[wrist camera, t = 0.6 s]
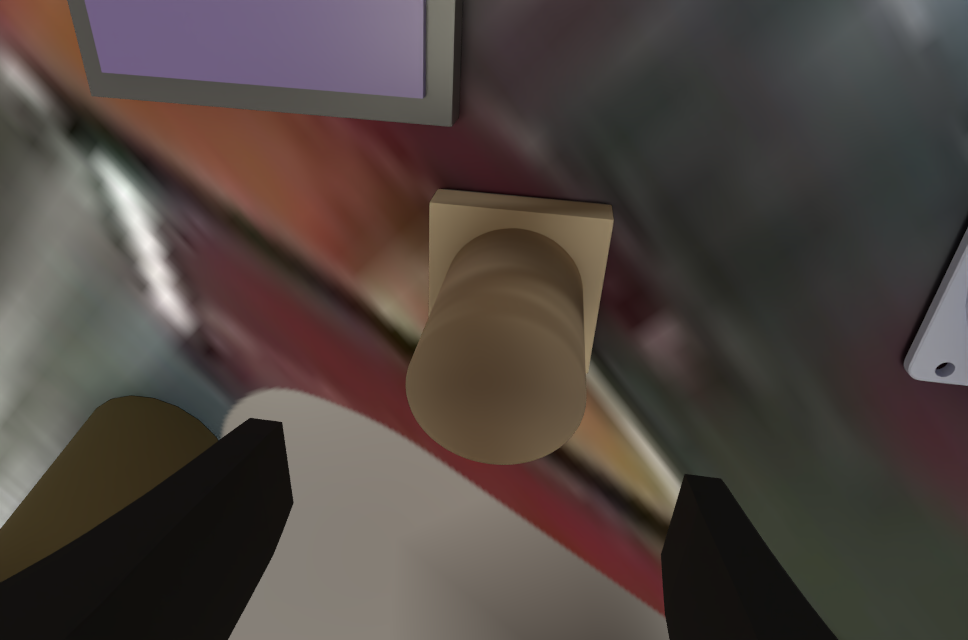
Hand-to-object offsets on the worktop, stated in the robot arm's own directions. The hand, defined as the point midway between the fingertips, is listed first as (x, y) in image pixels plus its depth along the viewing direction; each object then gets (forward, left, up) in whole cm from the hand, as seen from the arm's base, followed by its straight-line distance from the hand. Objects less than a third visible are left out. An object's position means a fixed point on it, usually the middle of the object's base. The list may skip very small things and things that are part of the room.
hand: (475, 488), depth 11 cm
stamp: (0, 0, -9) cm, 9 cm away
